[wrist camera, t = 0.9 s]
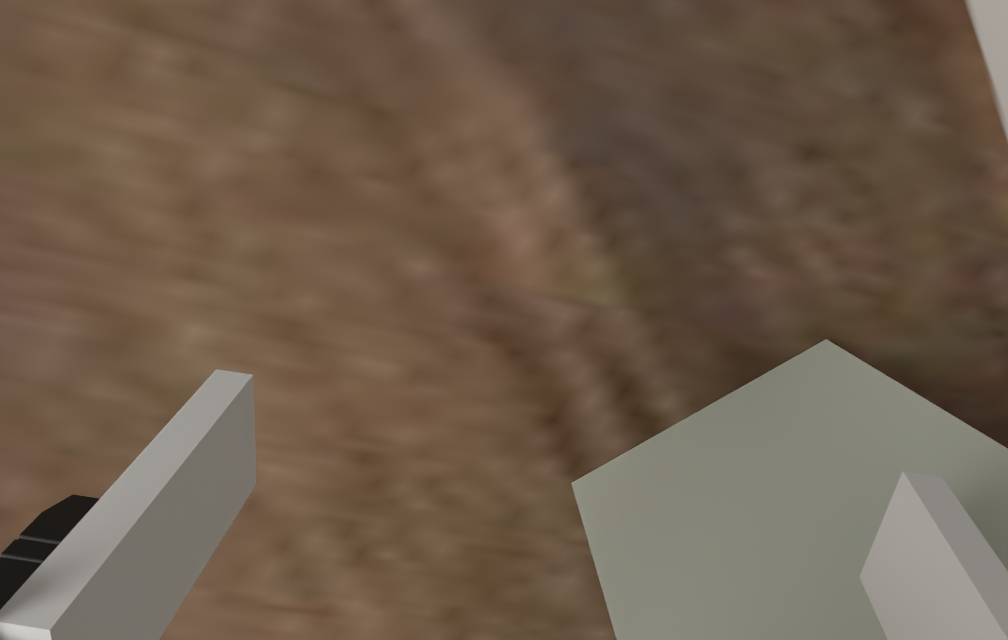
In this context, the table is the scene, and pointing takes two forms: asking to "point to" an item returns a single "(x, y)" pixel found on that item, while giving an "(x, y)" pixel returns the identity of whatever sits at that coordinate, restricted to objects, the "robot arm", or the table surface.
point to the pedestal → (776, 504)
